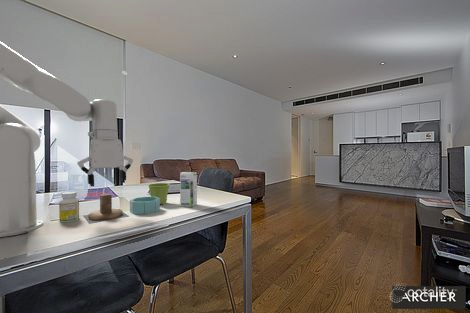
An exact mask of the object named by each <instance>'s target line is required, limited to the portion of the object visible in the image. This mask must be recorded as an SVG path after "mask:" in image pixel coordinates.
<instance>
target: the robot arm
mask: <svg viewBox="0 0 470 313" xmlns="http://www.w3.org/2000/svg"><path fill="white" fill-rule="evenodd" d="M0 78H1V79H2V80H4V81H6V82H7V83H9V84H10V85H12V86H13V87H16V88H18V90H21V91H22V92H25V93H29V94H32V95H34V96H36V97H38V98H40V99H41V100H43V101H45V102H47V103H49V104H50V105H51V106H53V107H55V108H56V109H58V110H59V111H61V112H63V113H64V114H65V115H66V116H67V117H68V118H69V119H70V120H72V121H74V122H88V121H89V122H91V121H92V131H89V132H87V136H88V137H92V139H91V140H90V144H89V156H87V157H85V158H83V159H81V160H79V161H77V164H76V165H77V166H78V167H79V169H80V170H81V171H83V173H85V174H87V183H88V185H89V186H90V187H95V175H94V174H93V173H94V172H95V170H97V169H113V168H118V169H119V170H120V172H119V177H120V178H119V180H120V183H123V184H125V183H126V181H127V172H128V170H129V169H131V168H130V167H131V166H132V164H133V161H134V159H133V158H131V157H128V156H126V155H124V150H123V144H122V140H121V139H119V136H118V133H119V132H118V131H119V130H118V118H117V117H118V114H117V110H118V109H117V104H116V103H115V101H113V100H110V99H99V98H98V99H94V100H92V101H90V100H89V99H88V98H87V97H86V96H85V95H83V94H82V93H81V92H79V91H78V90H76V89H75V88H73V87H72V86H70V85H68V84H67V83H66V82H64V81H63V80H61V79H59V78H58V77H56V76H54V75H52V74H50V73H49V72H47V71H46V70H44V69H42V68H41V67H39V66H38V65H35V64H34V63H33V62H31V61H30V60H28V59H27V58H25V57H23V56H22V55H21V54H19V53H18V52H16V51H15V50H13V49H12V48H10V46H9V47H8V46H7V44H5V43H3V42H1V41H0ZM40 145H41V138H40V135H39V134H38V133H37V132H36V131H35V130H34V129H33V128H32V127H30V126H29V125H27V124H26V123H24V122H23V121H22V120H21V119H19V118H18V117H17V116H15V115H13V114H12V112H10V111H8V110H7V109H6V108H4V107H3V106H2V105H0V238H5V237H12V236H18V235H22V234H26V233H29V232H30V231H33V230H36V229H39V228H40V227H42V226H44V221H43V220H40V219H37V218H38V217H37V216H38V215H37V214H38V212H37V211H38V210H37V176H36V174H37V173H36V171H37V170H36V159H35V158H36V156H35V152H36V151H38V150H39V148H40ZM125 161H127V162H126V164H125ZM87 162H89V168H87V167H86V166H85V164H86V163H87Z"/></svg>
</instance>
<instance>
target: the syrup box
mask: <svg viewBox="0 0 470 313" xmlns="http://www.w3.org/2000/svg"><path fill="white" fill-rule="evenodd" d="M179 191H180V194H179V195H180V196H179V199H180V200H179V204H180V205H179V206H180V208H181V207H186V208H193V207H195V206H196V205H197V204H198V172H196V171H195V172H193V171H182V172H180V173H179Z"/></svg>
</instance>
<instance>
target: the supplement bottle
mask: <svg viewBox="0 0 470 313" xmlns="http://www.w3.org/2000/svg"><path fill="white" fill-rule="evenodd" d="M58 205H59V207H58V208H59V211H58V212H59V222H61V223H68V222H73V221H77V220H79V219H80V199H79V198H77V191H66V192H62V193H61V199H60V200H59V202H58Z"/></svg>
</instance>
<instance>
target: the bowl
mask: <svg viewBox="0 0 470 313" xmlns="http://www.w3.org/2000/svg"><path fill="white" fill-rule="evenodd" d="M160 210H161V204H160V198H158V197H151V196H140V197H133V198H132V199H130V200H129V212H130V213H131V214H133V215H147V214H148V215H149V214H153V213H157V212H158V211H160Z"/></svg>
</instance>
